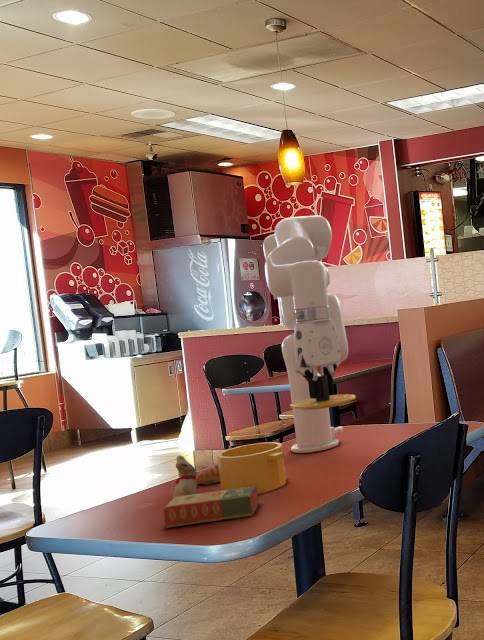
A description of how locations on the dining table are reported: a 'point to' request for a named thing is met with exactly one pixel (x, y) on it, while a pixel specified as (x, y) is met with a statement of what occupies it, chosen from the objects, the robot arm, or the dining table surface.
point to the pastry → (209, 476)
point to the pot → (252, 467)
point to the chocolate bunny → (185, 478)
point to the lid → (323, 398)
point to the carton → (211, 506)
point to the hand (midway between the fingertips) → (322, 395)
